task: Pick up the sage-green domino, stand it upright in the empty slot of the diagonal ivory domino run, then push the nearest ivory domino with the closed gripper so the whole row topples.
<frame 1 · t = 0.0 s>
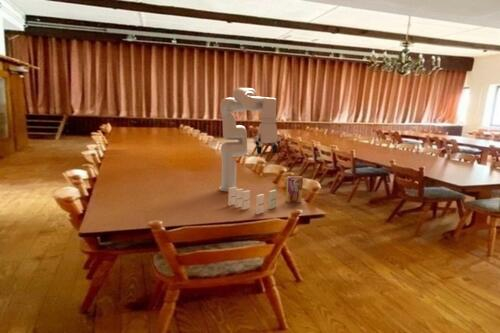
hand: (266, 153, 185), 31 cm above the table, tool pointing down, fingers open, 9 cm apart
candy box: (293, 201, 208), on the table
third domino: (245, 208, 191), on the table
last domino: (259, 213, 184), on the table
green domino: (271, 207, 194), on the table
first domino: (232, 204, 197), on the table
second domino: (238, 206, 194), on the table
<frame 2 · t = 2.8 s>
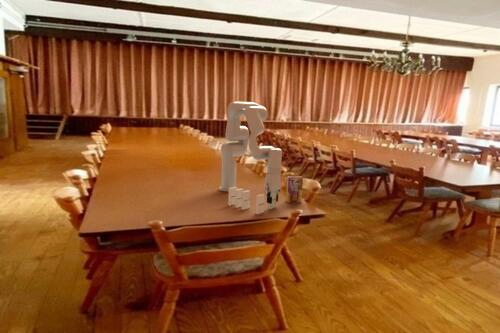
hand: (272, 201, 193), 3 cm above the table, tool pointing down, fingers closed on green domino, 4 cm apart
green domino: (272, 207, 194), on the table, touching gripper
everything else where it was.
when the fingers open (4 cm above the table, at t = 8.8 s): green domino stays where it is, on the table.
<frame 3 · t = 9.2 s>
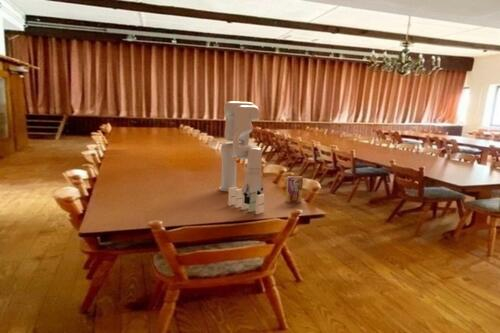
hand: (252, 201, 186), 5 cm above the table, tool pointing down, fingers open, 9 cm apart
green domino: (252, 210, 187), on the table
everything else where it was.
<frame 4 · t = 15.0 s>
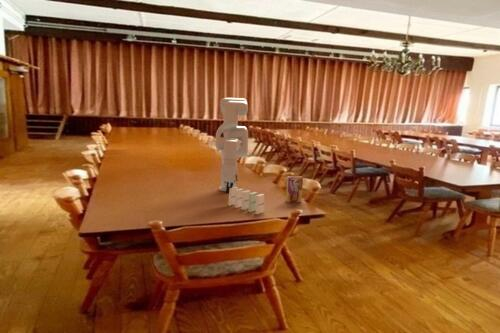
hand: (229, 193, 197), 6 cm above the table, tool pointing down, fingers closed
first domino: (232, 204, 197), on the table, touching gripper
everything else where it was.
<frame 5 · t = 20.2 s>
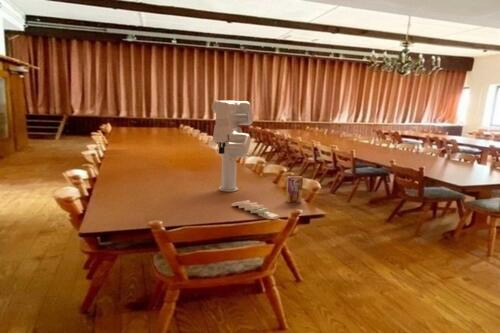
hand: (221, 153, 205), 27 cm above the table, tool pointing down, fingers closed
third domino: (247, 208, 189), point 1 cm above the table, tilted 70°, touching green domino, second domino
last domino: (261, 212, 183), point 1 cm above the table, tilted 89°, touching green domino
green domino: (254, 210, 185), point 1 cm above the table, tilted 74°, touching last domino, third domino
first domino: (234, 204, 195), point 1 cm above the table, tilted 70°, touching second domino
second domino: (241, 206, 192), point 1 cm above the table, tilted 70°, touching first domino, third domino
everything else where it was.
at the end: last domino tilted 89°; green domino tilted 74° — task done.
